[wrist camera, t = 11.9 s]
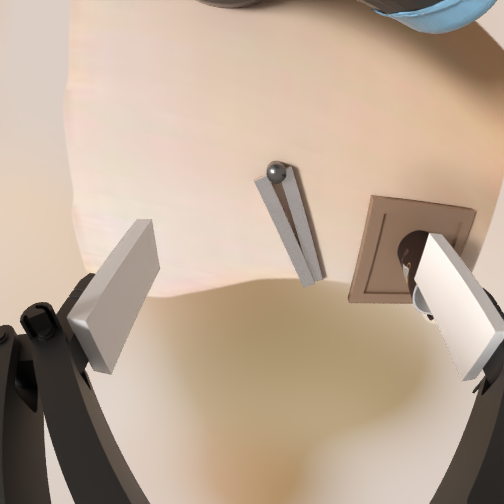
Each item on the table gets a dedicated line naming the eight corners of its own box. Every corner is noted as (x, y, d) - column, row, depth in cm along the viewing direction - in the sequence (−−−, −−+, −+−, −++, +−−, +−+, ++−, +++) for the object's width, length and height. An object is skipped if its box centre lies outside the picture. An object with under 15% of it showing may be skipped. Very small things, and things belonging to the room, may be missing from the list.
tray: (371, 195, 40) (373, 198, 39) (471, 208, 39) (475, 212, 38) (347, 298, 49) (348, 302, 48) (438, 298, 49) (440, 303, 48)
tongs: (251, 167, 39) (250, 172, 37) (288, 157, 38) (289, 160, 36) (291, 283, 48) (291, 291, 47) (322, 276, 47) (323, 283, 46)
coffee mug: (402, 217, 40) (430, 256, 32) (447, 229, 41) (478, 267, 32) (375, 282, 47) (392, 327, 38) (418, 289, 47) (439, 331, 39)
